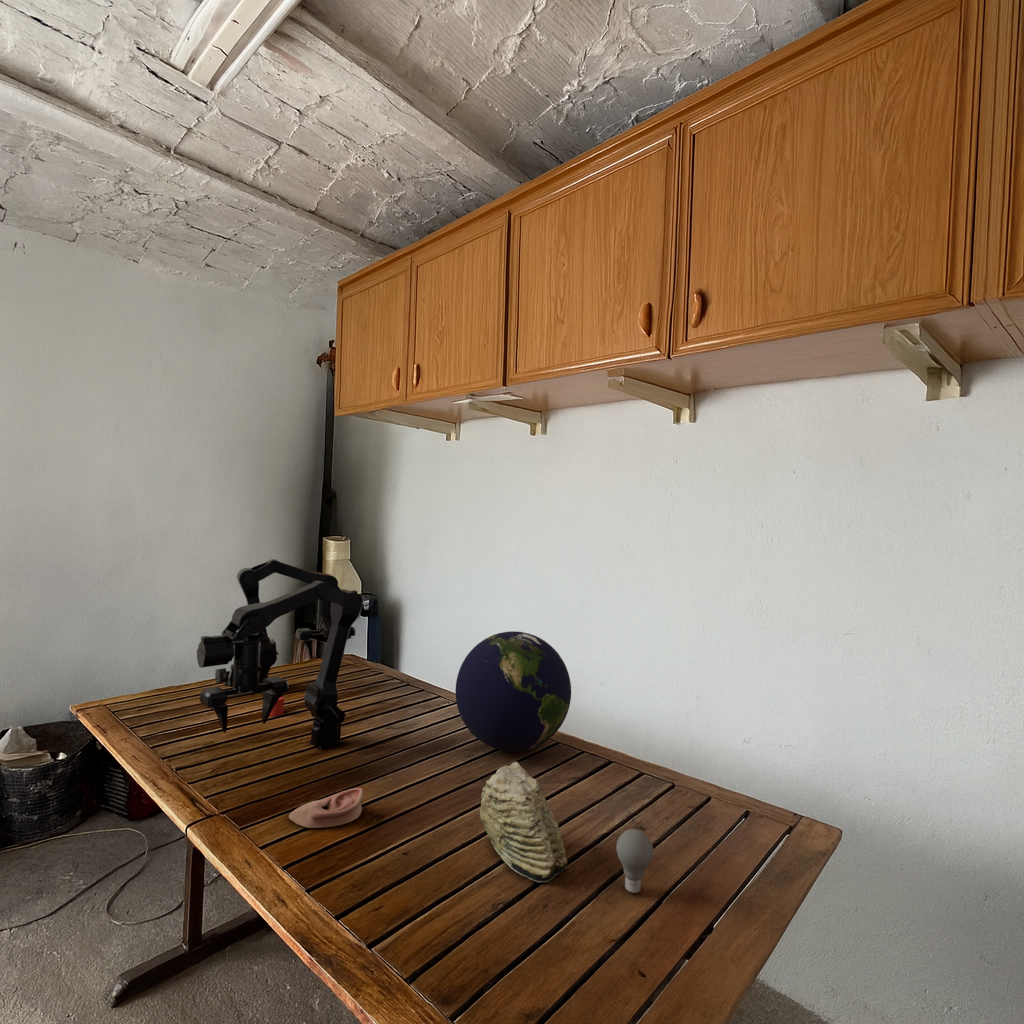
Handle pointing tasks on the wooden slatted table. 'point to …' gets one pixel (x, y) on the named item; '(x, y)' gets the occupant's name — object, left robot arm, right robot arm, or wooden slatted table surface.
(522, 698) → the globe
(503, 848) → the fossil
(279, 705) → the canister
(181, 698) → the wooden slatted table surface
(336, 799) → the anatomical model
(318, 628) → the left robot arm
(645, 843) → the light bulb
